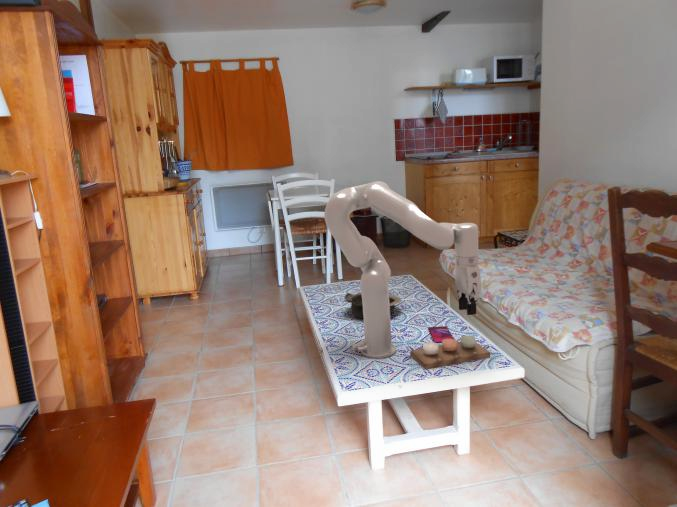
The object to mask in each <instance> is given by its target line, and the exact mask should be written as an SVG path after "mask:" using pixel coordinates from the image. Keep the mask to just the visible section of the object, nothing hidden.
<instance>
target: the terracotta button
mask: <svg viewBox="0 0 677 507" xmlns="http://www.w3.org/2000/svg"><path fill="white" fill-rule="evenodd" d="M457 342H458V340H456V339H455V338H453V339H444V340H442V343H441V345H442V349H443V350H446V351H454V350H456V349H457Z"/></svg>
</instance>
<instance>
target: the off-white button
mask: <svg viewBox="0 0 677 507" xmlns="http://www.w3.org/2000/svg"><path fill="white" fill-rule="evenodd" d="M422 345H423V347H422V348H423V352H424V353H425V354H430V355H432V354H437V353H438V346H439V343H435V342H434V341H426V342H424V343H423V344H422Z"/></svg>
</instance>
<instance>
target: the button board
mask: <svg viewBox="0 0 677 507" xmlns="http://www.w3.org/2000/svg"><path fill="white" fill-rule="evenodd" d="M410 357H411V358H412V359H413V360H414V361H415V362H416V363H417V364H418V365H419V366H421V368H423V370H425V371H427V370H431V369H432V370H433V369H437V368H441V367H446V366H447V367H448V366H453V365H457V364H463V363H467V362H469V363H470V362H474V361H479V360H485V359H490V358H491V352H490V350H488V349H487V348H485V347H484V346H482V345H480V344H479V343H478V342H476V341H475V346H474V347H471V348H466V347H462V346H461V342H460V341H457V349H456V350H454V351H446V350H443V349H442V344H440V345H439V344H438V353H437V354H432V355H430V354H425V353H424V352H423V347H422V348H418V349H417V348H416V349H411V350H410Z"/></svg>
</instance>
